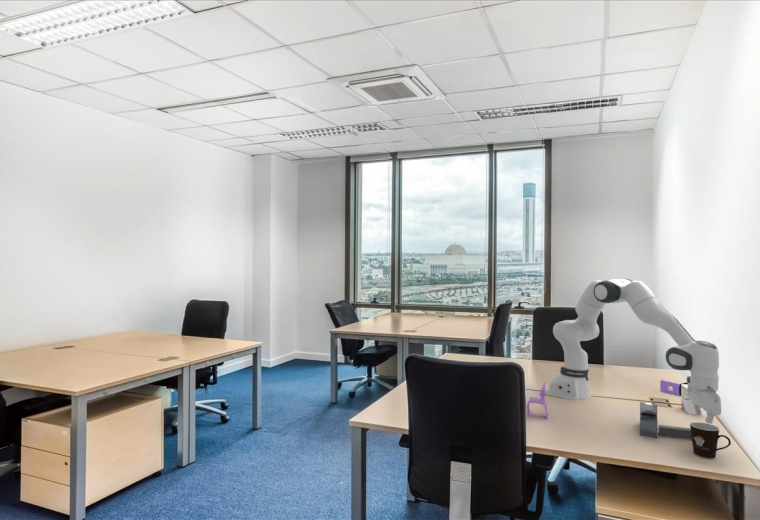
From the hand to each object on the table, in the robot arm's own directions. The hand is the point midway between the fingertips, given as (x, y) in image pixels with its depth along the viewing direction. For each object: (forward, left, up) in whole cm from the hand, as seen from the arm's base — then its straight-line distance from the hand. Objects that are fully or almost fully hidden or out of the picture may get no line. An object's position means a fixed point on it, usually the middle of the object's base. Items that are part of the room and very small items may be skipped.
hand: (703, 418), depth 179 cm
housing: (-18, 0, -8) cm, 20 cm away
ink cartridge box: (-1, +37, -8) cm, 37 cm away
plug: (-7, -2, -8) cm, 10 cm away
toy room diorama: (-5, +69, -8) cm, 70 cm away
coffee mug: (0, -20, -8) cm, 21 cm away
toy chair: (-61, -6, -8) cm, 62 cm away
